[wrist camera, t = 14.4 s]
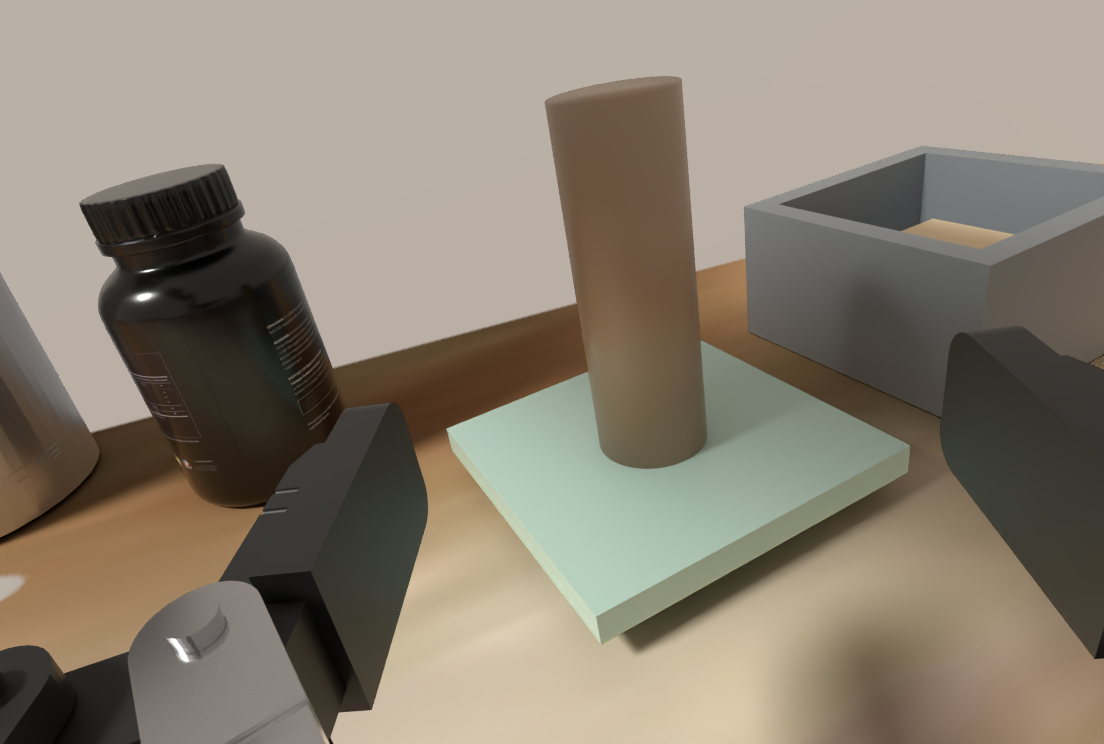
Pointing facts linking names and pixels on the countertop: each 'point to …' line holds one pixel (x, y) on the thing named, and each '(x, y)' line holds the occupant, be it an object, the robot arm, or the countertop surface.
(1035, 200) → the storage box
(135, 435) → the countertop surface
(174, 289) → the supplement bottle
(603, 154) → the peg on green base
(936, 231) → the block
